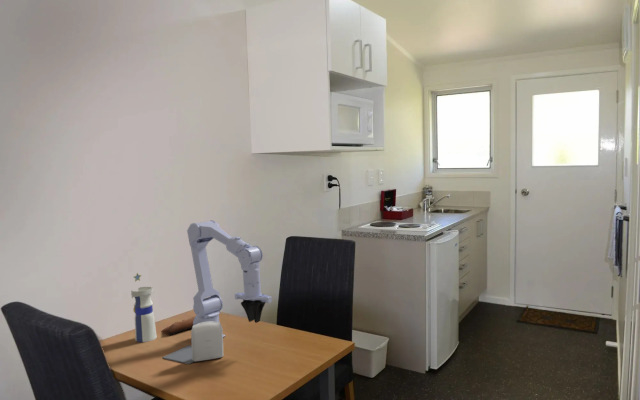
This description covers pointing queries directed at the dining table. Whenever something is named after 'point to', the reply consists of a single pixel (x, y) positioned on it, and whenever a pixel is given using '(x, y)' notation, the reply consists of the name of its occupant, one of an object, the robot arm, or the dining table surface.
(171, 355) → the topple mat
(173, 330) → the sunglasses case
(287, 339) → the dining table surface
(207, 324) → the photo printer
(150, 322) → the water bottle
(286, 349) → the dining table surface
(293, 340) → the dining table surface
